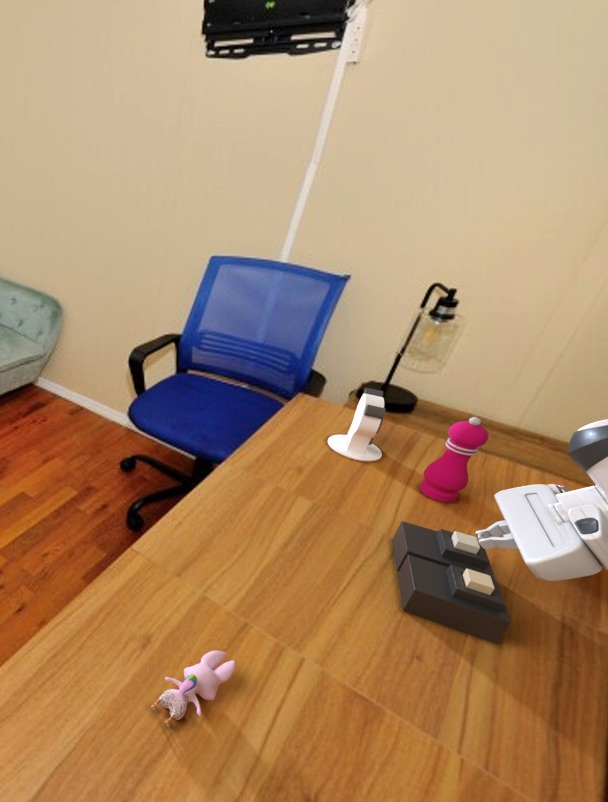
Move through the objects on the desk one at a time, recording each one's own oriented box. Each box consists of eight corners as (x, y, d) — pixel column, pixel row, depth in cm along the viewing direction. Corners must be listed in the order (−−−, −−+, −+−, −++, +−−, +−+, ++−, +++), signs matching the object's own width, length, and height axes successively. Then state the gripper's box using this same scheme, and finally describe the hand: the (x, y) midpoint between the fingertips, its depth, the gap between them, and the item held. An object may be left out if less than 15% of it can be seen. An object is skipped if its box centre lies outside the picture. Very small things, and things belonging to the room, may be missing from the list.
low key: (472, 544, 91) (476, 537, 90) (475, 555, 89) (480, 548, 88) (450, 537, 93) (454, 530, 92) (453, 548, 90) (458, 541, 90)
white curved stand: (383, 468, 121) (407, 415, 114) (327, 453, 127) (346, 402, 120) (380, 443, 130) (402, 393, 123) (328, 431, 136) (346, 382, 129)
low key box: (470, 564, 95) (487, 537, 92) (481, 599, 89) (500, 571, 85) (391, 540, 101) (405, 513, 98) (396, 570, 94) (411, 543, 91)
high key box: (483, 603, 88) (502, 575, 85) (496, 644, 81) (517, 615, 78) (397, 574, 94) (411, 547, 90) (402, 610, 87) (418, 582, 84)
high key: (485, 583, 84) (490, 575, 83) (490, 596, 82) (495, 588, 81) (461, 575, 85) (466, 568, 84) (465, 588, 83) (470, 580, 82)
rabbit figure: (176, 743, 70) (247, 680, 76) (179, 723, 67) (252, 659, 72) (142, 703, 75) (211, 646, 80) (143, 683, 72) (215, 625, 77)
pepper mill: (419, 478, 118) (455, 405, 108) (460, 493, 113) (502, 417, 104) (414, 493, 113) (451, 417, 104) (456, 508, 109) (499, 431, 99)
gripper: (553, 467, 88) (455, 492, 97) (604, 543, 72) (482, 565, 81) (575, 496, 87) (475, 518, 97) (631, 578, 72) (506, 596, 81)
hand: (479, 540), depth 89 cm, fingers closed
